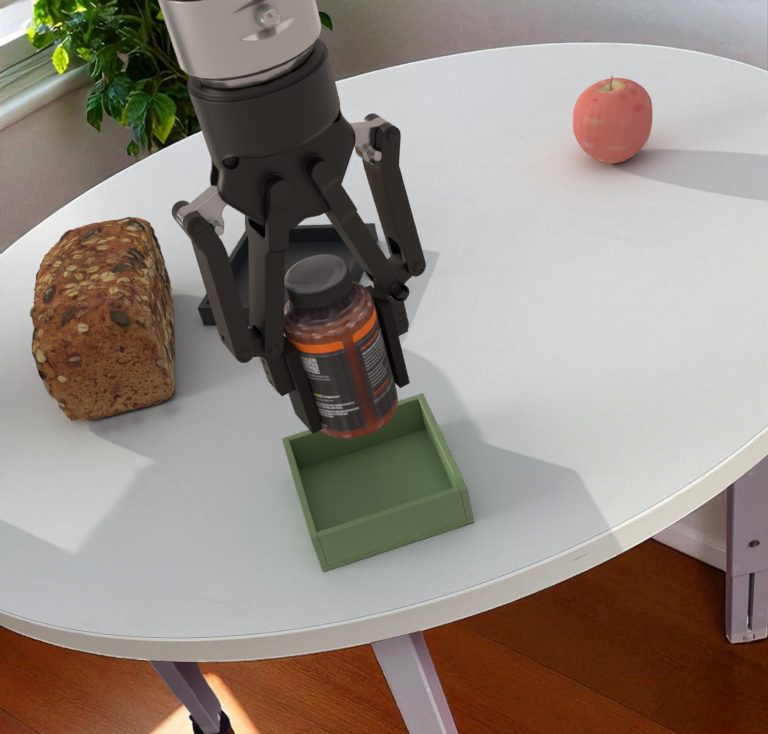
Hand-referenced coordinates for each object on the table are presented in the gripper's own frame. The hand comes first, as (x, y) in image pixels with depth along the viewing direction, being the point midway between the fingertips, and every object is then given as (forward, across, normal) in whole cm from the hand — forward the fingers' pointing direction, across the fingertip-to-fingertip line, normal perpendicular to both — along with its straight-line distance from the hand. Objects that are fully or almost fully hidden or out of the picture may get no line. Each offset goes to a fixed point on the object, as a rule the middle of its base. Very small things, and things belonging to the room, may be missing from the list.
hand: (352, 397), depth 71 cm
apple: (+10, +41, +25) cm, 49 cm away
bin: (+9, 0, 0) cm, 9 cm away
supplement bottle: (+2, 0, 0) cm, 2 cm away
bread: (+9, -9, +32) cm, 34 cm away
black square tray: (+9, +7, +30) cm, 32 cm away
